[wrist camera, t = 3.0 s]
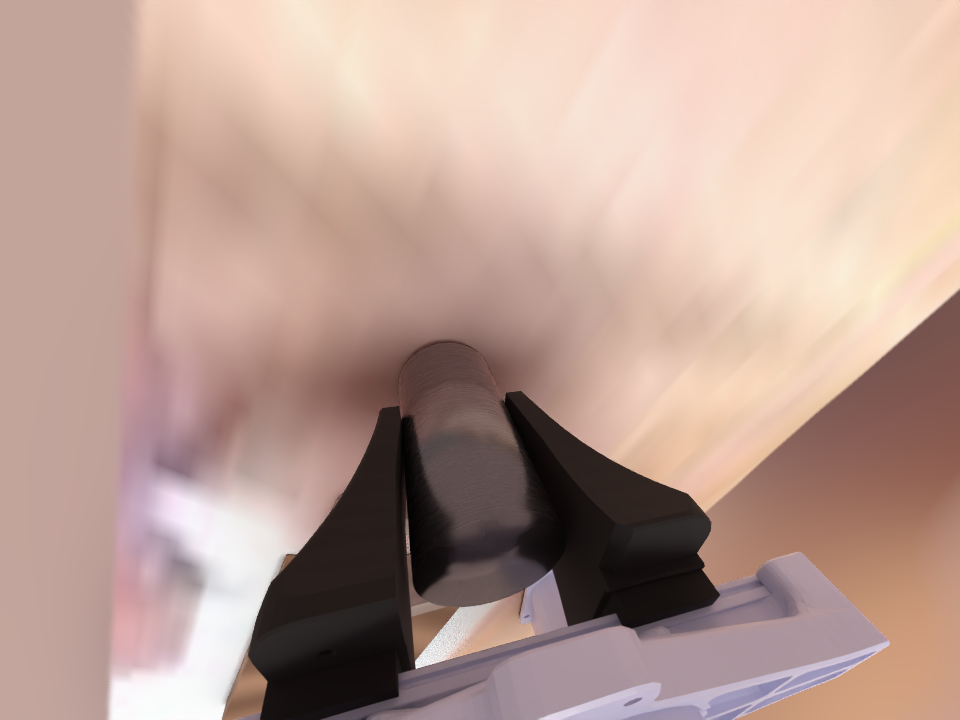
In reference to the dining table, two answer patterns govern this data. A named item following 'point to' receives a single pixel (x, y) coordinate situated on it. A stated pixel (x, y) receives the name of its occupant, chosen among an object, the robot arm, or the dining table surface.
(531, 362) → the dining table surface
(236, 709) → the brown piece
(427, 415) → the hinge pin
